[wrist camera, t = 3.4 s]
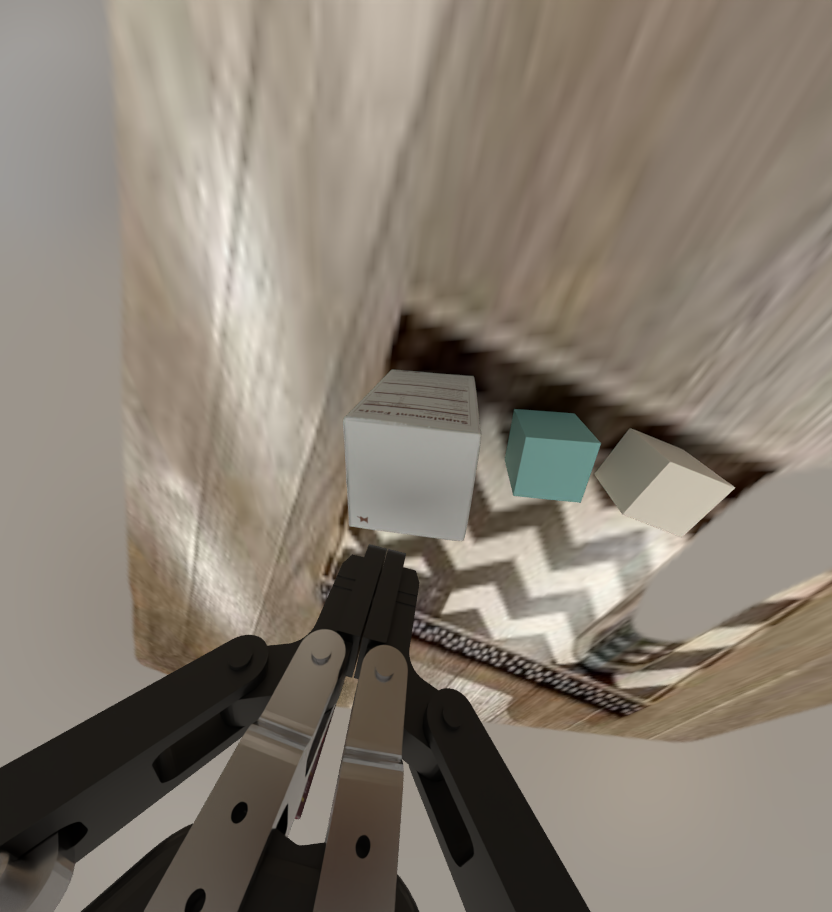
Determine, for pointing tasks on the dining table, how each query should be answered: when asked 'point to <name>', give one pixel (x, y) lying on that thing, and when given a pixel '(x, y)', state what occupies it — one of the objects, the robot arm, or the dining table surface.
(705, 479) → the cream block
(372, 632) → the robot arm
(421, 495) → the supplement box
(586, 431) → the teal block
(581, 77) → the dining table surface
